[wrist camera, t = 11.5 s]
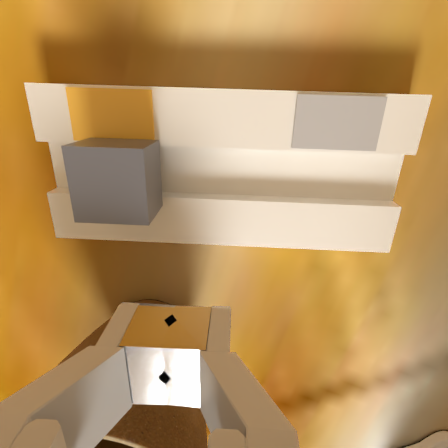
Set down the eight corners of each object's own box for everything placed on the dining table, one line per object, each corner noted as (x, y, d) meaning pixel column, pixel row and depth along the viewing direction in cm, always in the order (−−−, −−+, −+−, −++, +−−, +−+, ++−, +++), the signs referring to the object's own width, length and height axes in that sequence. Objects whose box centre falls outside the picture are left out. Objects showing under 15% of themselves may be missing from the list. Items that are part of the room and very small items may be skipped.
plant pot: (87, 366, 36) (-17, 554, 21) (86, 257, 30) (-60, 413, 15) (212, 385, 36) (194, 584, 22) (234, 282, 30) (230, 457, 16)
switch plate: (409, 95, 23) (434, 94, 20) (374, 237, 28) (390, 253, 25) (48, 84, 24) (22, 82, 21) (73, 224, 29) (54, 238, 26)
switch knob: (164, 136, 23) (143, 148, 18) (167, 198, 25) (148, 225, 20) (100, 134, 24) (61, 145, 18) (108, 196, 26) (74, 222, 20)
